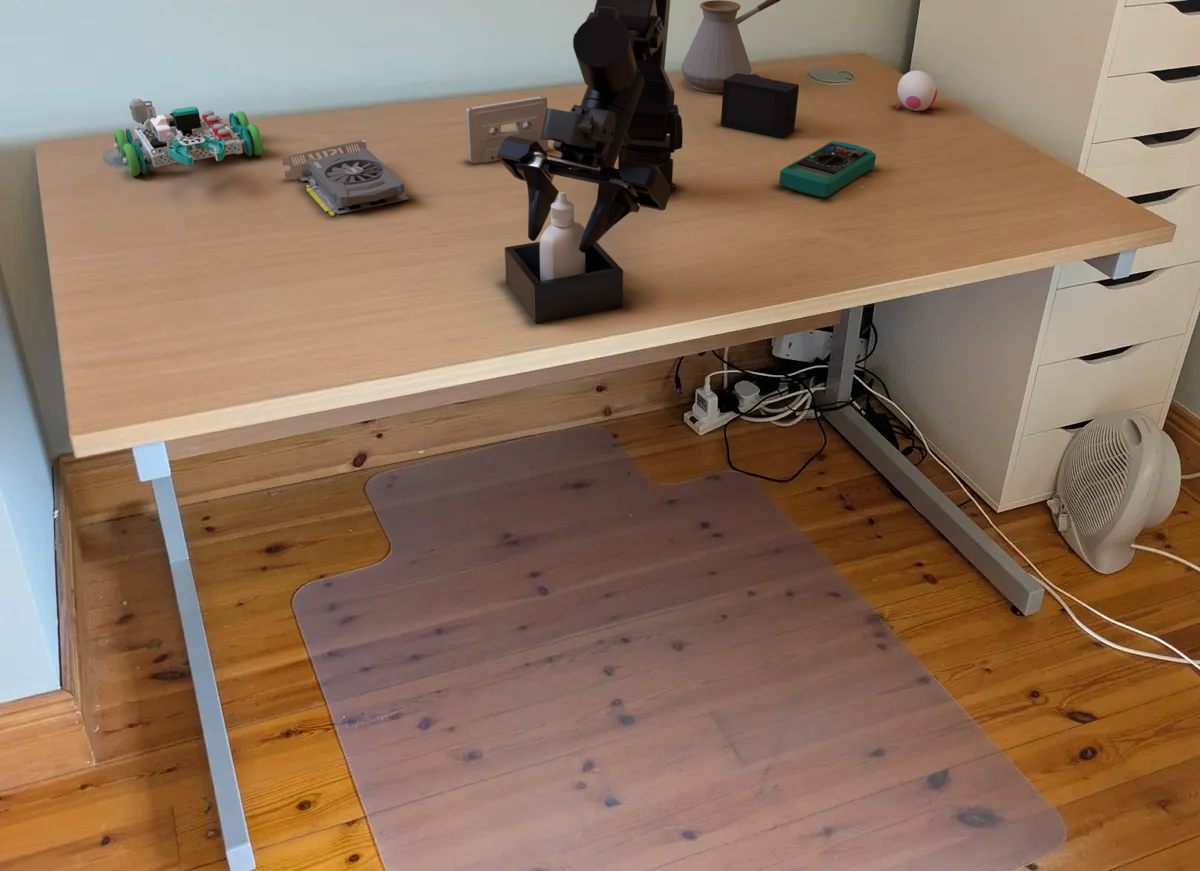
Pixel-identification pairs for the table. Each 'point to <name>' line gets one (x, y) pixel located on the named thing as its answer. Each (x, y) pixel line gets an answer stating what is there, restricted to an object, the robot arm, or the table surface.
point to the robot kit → (183, 137)
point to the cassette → (497, 114)
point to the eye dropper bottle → (561, 243)
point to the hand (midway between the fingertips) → (556, 245)
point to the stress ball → (917, 91)
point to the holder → (563, 284)
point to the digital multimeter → (827, 169)
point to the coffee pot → (718, 46)
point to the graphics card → (346, 179)
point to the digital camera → (759, 104)
